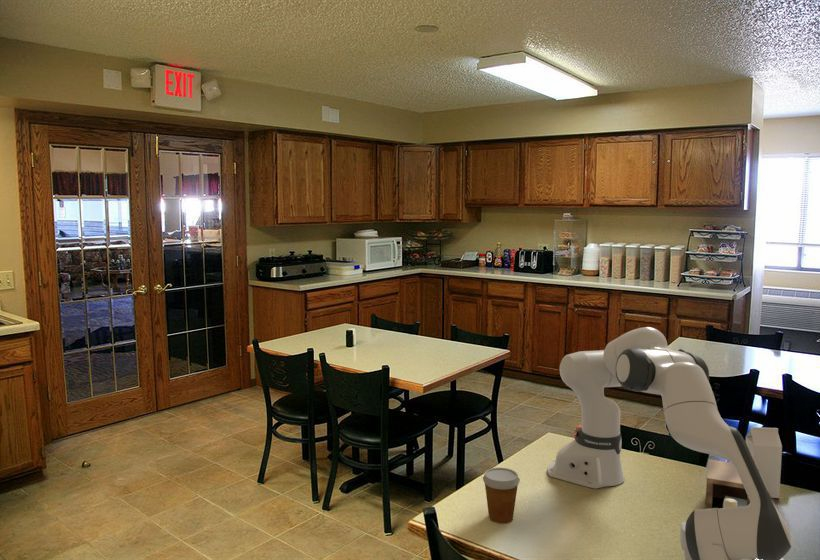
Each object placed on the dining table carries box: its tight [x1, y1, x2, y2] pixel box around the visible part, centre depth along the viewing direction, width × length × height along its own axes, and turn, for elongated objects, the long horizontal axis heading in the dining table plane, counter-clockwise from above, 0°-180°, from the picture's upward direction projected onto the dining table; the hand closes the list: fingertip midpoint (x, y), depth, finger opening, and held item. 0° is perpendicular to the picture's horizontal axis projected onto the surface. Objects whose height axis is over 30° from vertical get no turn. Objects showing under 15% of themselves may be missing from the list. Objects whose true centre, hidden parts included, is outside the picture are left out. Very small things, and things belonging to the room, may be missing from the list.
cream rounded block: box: [722, 495, 747, 508], centre depth 152 cm, size 5×16×11 cm, turn 147°
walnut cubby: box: [704, 458, 750, 509], centre depth 165 cm, size 11×14×10 cm
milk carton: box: [745, 426, 783, 499], centre depth 174 cm, size 7×7×19 cm
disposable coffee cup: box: [482, 467, 521, 525], centre depth 161 cm, size 10×10×12 cm
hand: (729, 527), depth 143 cm, fingers open, 8 cm apart
